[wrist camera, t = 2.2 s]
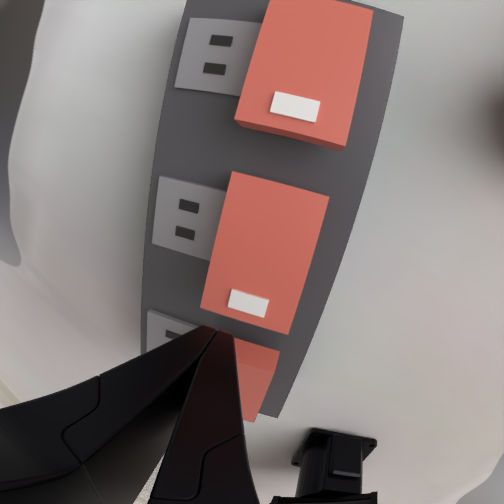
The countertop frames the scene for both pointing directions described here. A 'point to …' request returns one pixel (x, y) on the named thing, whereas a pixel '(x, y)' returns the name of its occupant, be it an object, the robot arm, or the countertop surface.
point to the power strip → (250, 163)
